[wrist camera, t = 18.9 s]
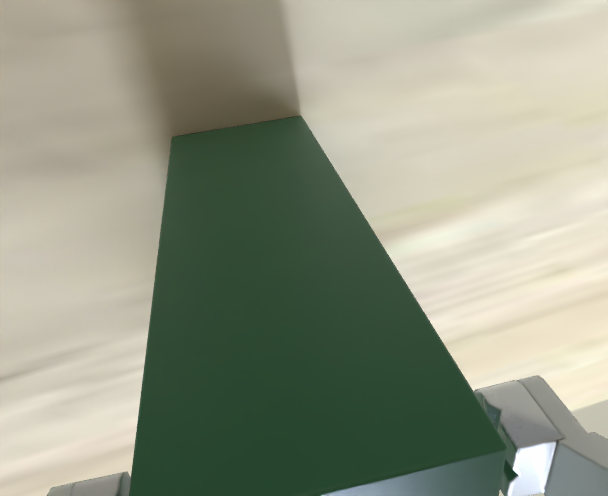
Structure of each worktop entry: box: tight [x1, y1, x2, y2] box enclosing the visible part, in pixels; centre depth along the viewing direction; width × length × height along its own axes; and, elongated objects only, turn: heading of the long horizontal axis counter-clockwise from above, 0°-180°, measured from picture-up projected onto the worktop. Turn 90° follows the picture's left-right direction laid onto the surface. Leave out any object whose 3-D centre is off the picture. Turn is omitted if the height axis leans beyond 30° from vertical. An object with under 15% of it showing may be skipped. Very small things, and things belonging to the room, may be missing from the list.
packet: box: [129, 116, 507, 496], centre depth 15 cm, size 15×5×9 cm
